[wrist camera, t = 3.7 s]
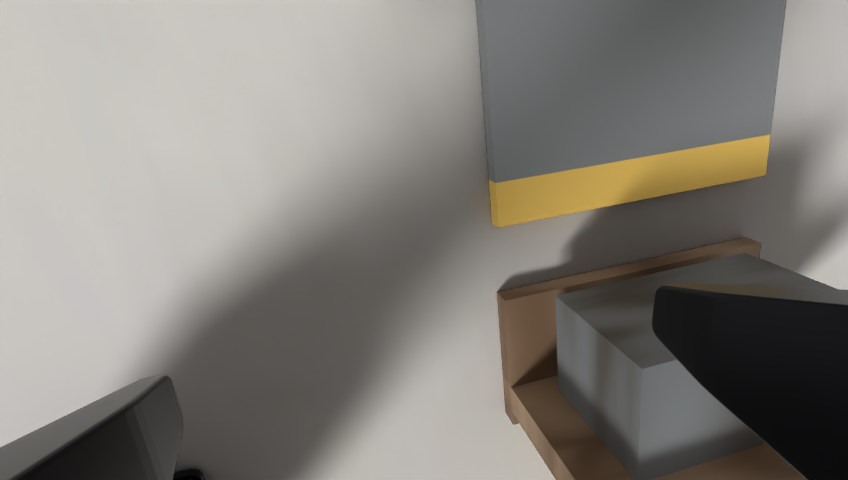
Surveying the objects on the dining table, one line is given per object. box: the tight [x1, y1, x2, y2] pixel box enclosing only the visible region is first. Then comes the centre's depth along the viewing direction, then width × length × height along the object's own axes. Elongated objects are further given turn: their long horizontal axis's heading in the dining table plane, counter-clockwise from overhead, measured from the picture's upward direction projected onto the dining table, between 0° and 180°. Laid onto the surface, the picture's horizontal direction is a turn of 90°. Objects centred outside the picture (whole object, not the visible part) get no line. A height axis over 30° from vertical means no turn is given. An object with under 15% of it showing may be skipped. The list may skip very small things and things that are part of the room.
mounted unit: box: [497, 237, 838, 480], centre depth 22 cm, size 14×7×10 cm, turn 97°
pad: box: [476, 0, 787, 228], centre depth 21 cm, size 14×14×1 cm
